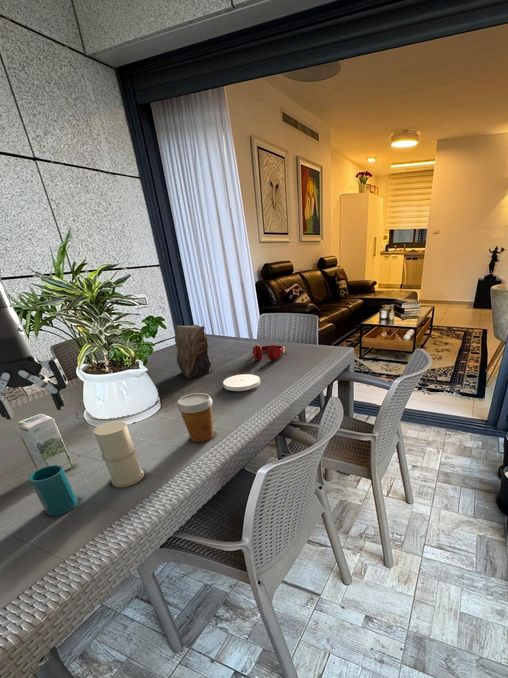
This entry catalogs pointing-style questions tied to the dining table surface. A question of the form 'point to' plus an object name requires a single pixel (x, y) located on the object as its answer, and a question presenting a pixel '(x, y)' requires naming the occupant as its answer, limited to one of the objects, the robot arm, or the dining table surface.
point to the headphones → (268, 351)
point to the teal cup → (53, 489)
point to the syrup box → (43, 442)
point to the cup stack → (119, 453)
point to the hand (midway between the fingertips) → (36, 413)
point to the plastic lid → (241, 382)
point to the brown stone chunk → (192, 351)
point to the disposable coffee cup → (197, 416)
